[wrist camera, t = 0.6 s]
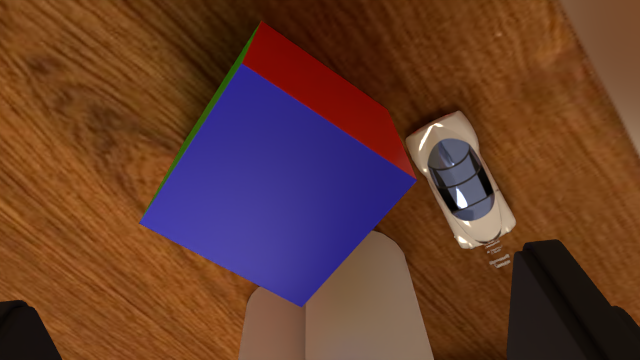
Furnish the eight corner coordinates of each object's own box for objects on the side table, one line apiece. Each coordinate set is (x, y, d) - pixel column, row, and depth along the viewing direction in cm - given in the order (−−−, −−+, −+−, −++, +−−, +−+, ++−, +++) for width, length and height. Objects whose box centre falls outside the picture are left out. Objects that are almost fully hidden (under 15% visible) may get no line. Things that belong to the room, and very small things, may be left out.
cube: (387, 109, 26) (417, 180, 19) (303, 213, 29) (301, 307, 22) (261, 20, 24) (241, 63, 17) (183, 143, 27) (138, 223, 20)
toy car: (477, 277, 32) (490, 305, 29) (397, 130, 27) (405, 150, 24) (529, 254, 31) (547, 281, 29) (457, 98, 26) (472, 115, 24)
